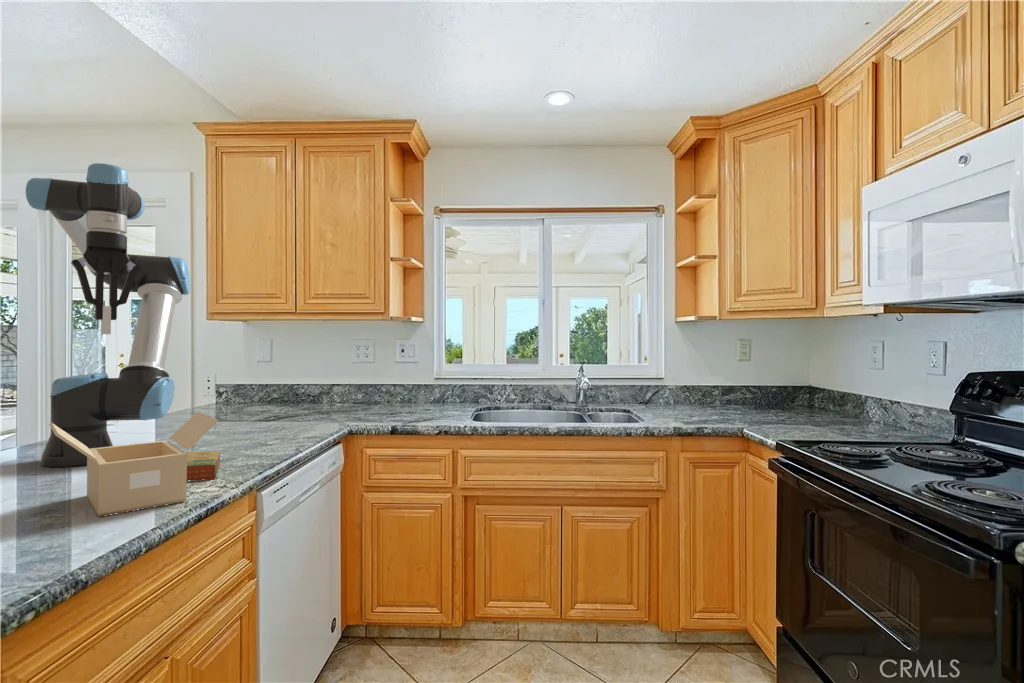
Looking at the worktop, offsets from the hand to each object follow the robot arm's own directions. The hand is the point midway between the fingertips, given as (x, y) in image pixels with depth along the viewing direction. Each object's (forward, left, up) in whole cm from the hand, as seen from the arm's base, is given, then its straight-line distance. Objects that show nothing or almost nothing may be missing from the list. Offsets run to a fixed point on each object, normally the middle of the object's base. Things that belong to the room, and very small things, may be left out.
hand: (105, 334), depth 122 cm
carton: (+5, +18, -35) cm, 40 cm away
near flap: (+20, -7, -21) cm, 30 cm away
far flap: (+20, +13, -21) cm, 32 cm away
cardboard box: (+20, +3, -34) cm, 40 cm away
